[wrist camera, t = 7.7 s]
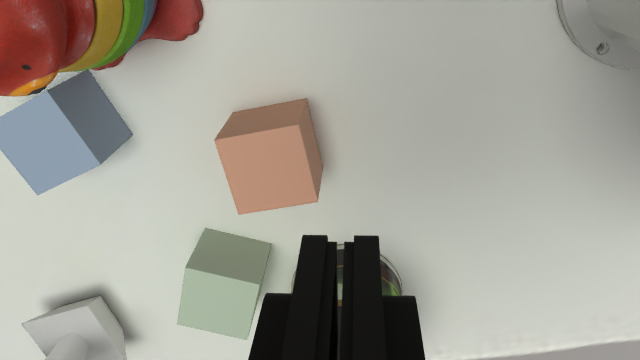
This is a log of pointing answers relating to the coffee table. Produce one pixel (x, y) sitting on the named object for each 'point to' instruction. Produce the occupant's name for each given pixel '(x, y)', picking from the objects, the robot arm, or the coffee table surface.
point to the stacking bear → (81, 35)
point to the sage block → (223, 283)
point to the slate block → (62, 133)
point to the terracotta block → (271, 157)
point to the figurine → (79, 332)
